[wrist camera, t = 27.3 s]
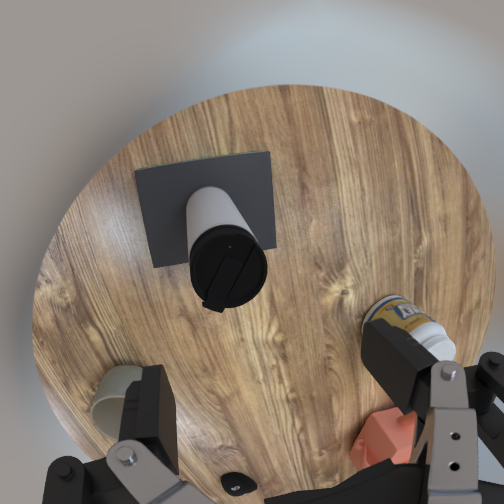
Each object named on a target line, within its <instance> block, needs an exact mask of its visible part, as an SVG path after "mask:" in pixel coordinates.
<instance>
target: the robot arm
mask: <svg viewBox="0 0 504 504" xmlns="http://www.w3.org/2000/svg"><path fill="white" fill-rule="evenodd" d="M361 359H362V362H363V364H364V366H365V367H366V368H367V370H368V371H369V372H370V373H371V375H372V376H373V377H374V378H375V380H376V381H377V382H378V383H379V385H380V386H381V387H382V388H383V390H384V391H385V392H386V393H387V395H388V396H389V397H390V398H391V400H392V401H393V402H394V403H395V405H396V406H397V407H398V408H399V410H400V411H401V412H402V413H403V415H404V416H405V415H407V414H409V413H411V412H413V411H415V412H416V414H417V416H416V419H415V426H414V435H413V442H412V449H411V455H410V459H409V462H408V463H401V464H394V463H393V462H392V460H391V459H390V458H388V459H386V460H383V461H381V462H379V463H376V464H374V465H372V466H369V467H367V468H364V469H362V470H360V471H359V472H357V473H356V474H354V475H353V476H351V477H350V478H348V479H347V480H345V481H343V482H342V483H340V484H339V485H337V486H335V487H332V488H325V489H316V490H304V491H295V492H292V493H288V494H284V495H280V496H275V497H271V498H267V499H264V503H265V504H504V485H500V484H496V483H491V482H486V481H481V480H478V437H479V438H480V439H481V440H482V441H483V443H484V444H485V445H486V446H487V447H488V449H489V450H490V451H491V453H492V454H493V455H494V456H495V458H496V459H497V460H498V462H499V463H500V464H501V465H502V467H503V468H504V413H503V412H502V411H501V410H500V409H499V408H498V407H497V406H496V405H495V404H494V403H493V402H494V400H495V398H496V396H497V397H498V398H499V399H500V400H501V401H502V402H503V403H504V355H502V354H500V353H497V352H487V353H484V354H483V355H482V356H481V357H480V360H479V363H478V365H474V366H469V367H464V368H463V367H462V366H461V365H460V364H458V363H456V362H454V361H449V360H443V361H439V360H438V359H437V358H436V357H435V356H434V355H433V354H431V353H430V352H429V351H428V350H427V349H426V348H425V347H424V346H423V345H421V344H419V342H418V341H417V340H416V339H415V338H413V337H412V336H411V335H410V334H409V333H408V332H407V331H406V330H404V329H401V328H399V327H397V326H391V325H390V324H389V323H388V322H387V321H386V320H385V319H383V318H378V319H375V320H371V321H368V322H365V323H364V325H363V334H362V345H361ZM176 475H179V467H178V450H177V426H176V404H175V399H174V395H173V392H172V389H171V386H170V383H169V380H168V377H167V374H166V371H165V369H164V366H163V365H162V364H161V365H153V366H145V367H143V369H142V377H141V380H138V381H132V383H131V384H130V385H129V387H128V388H127V390H126V392H125V398H124V404H123V411H122V417H121V424H120V431H119V438H118V443H116V444H114V445H113V446H112V447H111V448H110V449H109V450H108V452H107V455H106V457H104V458H102V459H99V460H95V461H92V462H88V463H84V464H82V462H81V461H80V460H79V459H77V458H75V457H72V456H63V457H60V458H58V459H56V460H55V461H53V462H52V463H51V465H50V466H49V468H48V472H47V477H46V482H45V489H44V494H43V501H42V504H216V503H215V502H214V501H212V500H211V499H210V498H208V497H207V496H206V495H205V494H203V493H202V492H201V491H200V490H198V489H197V488H196V487H195V486H193V485H192V484H191V483H189V482H188V481H182V480H181V479H179V478H178V477H177V476H176Z"/></svg>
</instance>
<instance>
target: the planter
mask: <svg viewBox="0 0 504 504" xmlns="http://www.w3.org/2000/svg"><path fill="white" fill-rule="evenodd" d="M142 369H143V368H141V367H138V366H134V365H119V366H116V367H114V368H112V369H110V370H109V371H108V372H107V373H106V374H105V375H104V376H103V378H102V380H101V382H100V384H99V386H98V389H97V391H96V393H95V396H94V399H93V402H92V405H91V409H90V418H91V421H92V423H93V425H94V426H95V427H96V429H97V430H98V431H99V432H100V433H102V434H103V435H104V436H106V437H108V438H110V439H112V440H114V441H116V442H118V438H119V431H120V424H121V417H122V411H123V404H124V398H125V392H126V390H127V388H128V387H129V385H130V384H131V383H132V381H138V380H141V377H142Z"/></svg>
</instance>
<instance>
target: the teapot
mask: <svg viewBox="0 0 504 504" xmlns="http://www.w3.org/2000/svg"><path fill="white" fill-rule="evenodd" d="M416 416H417V414H416V412H415V411H413V412H411V413H409V414H407V415H405V416H404V415H403V413H402V412H401V411H400V410H399V408H398V407H395V408H391V409H387V410H383V411H378V412H374V413H371V415H370V416H369V417H368V418H367V419H366V423H365V425H364V427H363V428H362V430H361V432H360V434H359V436H358V437H357V439H356V440H355V442H354V445H353V447H352V449H351V451H350V457H351V460H352V462H353V463H354V465H355V467H356V469H357V470H358V472H359V471H360V470H362V469H364V468H367V467H369V466H372V465H374V464H376V463H379V462H381V461H383V460H386V459H388V458H390V459H391V460H392V462H393V463H394V464H401V463H408V462H409V459H410V455H411V449H412V442H413V435H414V426H415V419H416Z"/></svg>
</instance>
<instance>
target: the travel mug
mask: <svg viewBox="0 0 504 504" xmlns="http://www.w3.org/2000/svg"><path fill="white" fill-rule="evenodd" d="M186 217H187V239H188V257H189V266H190V276H191V282H192V286H193V288H194V290H195V292H196V293H197V295H198V296H199V297H200V298H201V299H202V300H203V301H205V302H202V306H203V307H205V308H207V309H210V310H213V311H216V312H220V313H222V312H223V310H224V309H225V308H234V307H238V306H241V305H243V304H245V303H247V302H249V301H250V300H251V299H253V298H254V297H255V296H256V295H257V294H258V293H259V292H260V290H261V288H262V287H263V285H264V283H265V280H266V277H267V260H266V257H265V254H264V252H263V250H262V249H261V247H260V245H259V243H258V241H257V239H256V238H255V236H254V234H253V233H252V231H251V230H250V228H249V227H248V225H247V223H246V222H245V220H244V219H243V217H242V216H241V214H240V212H239V211H238V209H237V208H236V206H235V205H234V203H233V201H232V200H231V198H230V197H229V195H228V194H227V193H226V192H225V191H224V190H222V189H220V188H218V187H214V186H206V187H202V188H200V189H198V190H196V191H195V192H194V193H193V194H192V195H191V196H190V198H189V199H188V202H187V206H186Z"/></svg>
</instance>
